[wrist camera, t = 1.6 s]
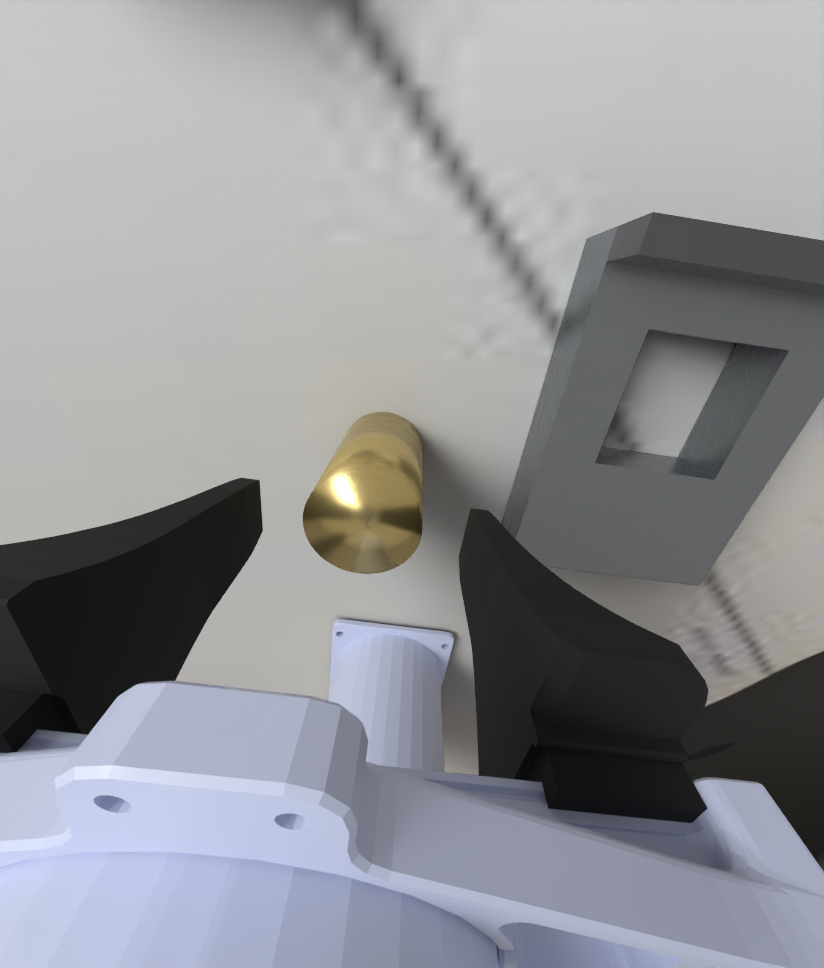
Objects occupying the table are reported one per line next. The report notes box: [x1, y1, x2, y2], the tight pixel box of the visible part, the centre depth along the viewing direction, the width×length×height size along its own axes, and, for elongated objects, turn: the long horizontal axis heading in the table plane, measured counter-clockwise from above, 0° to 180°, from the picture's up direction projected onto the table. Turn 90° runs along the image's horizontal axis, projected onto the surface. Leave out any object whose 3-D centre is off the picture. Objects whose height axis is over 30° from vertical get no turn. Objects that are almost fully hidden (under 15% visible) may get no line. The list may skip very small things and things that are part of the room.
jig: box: [502, 212, 824, 586], centre depth 15 cm, size 14×10×4 cm
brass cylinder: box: [303, 412, 423, 574], centre depth 15 cm, size 4×4×7 cm
